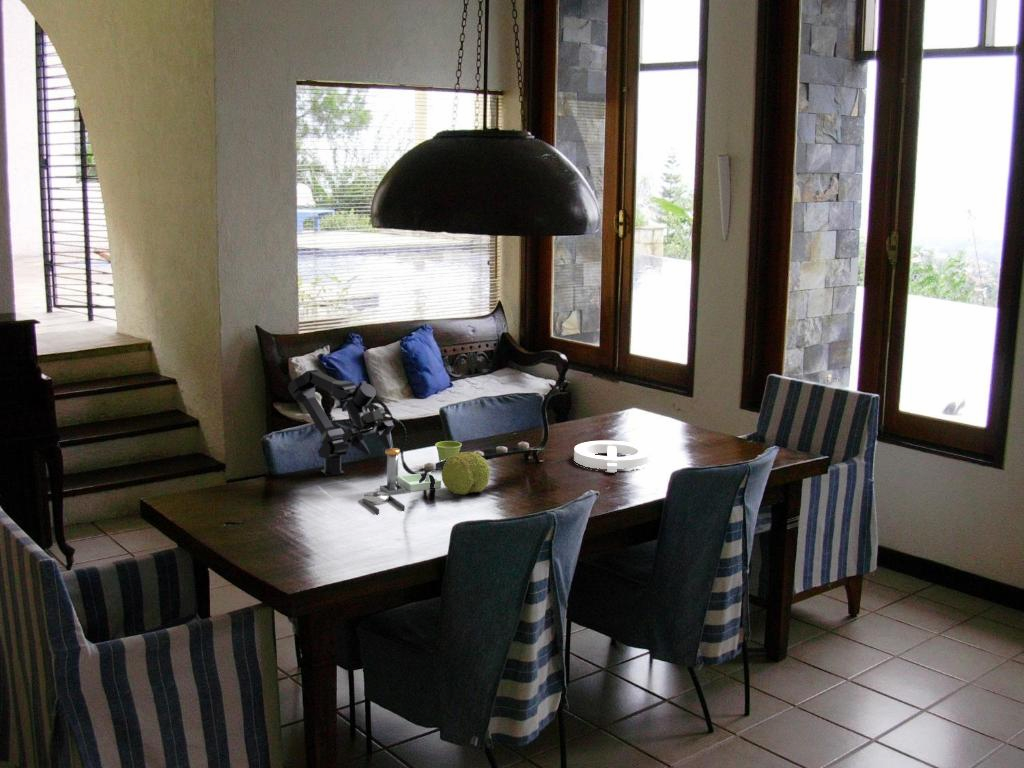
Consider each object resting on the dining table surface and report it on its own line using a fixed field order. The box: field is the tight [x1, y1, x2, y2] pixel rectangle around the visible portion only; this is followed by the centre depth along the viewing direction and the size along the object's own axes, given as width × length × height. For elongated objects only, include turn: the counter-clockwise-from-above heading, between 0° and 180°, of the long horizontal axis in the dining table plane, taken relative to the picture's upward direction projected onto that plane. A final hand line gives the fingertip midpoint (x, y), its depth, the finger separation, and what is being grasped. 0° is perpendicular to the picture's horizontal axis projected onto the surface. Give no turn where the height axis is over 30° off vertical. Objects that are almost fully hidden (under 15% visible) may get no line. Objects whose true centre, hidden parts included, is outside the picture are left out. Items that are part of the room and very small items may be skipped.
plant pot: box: [435, 440, 462, 462], centre depth 404 cm, size 9×9×9 cm
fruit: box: [441, 451, 491, 495], centre depth 374 cm, size 16×14×15 cm
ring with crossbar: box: [573, 440, 651, 473], centre depth 418 cm, size 28×28×5 cm
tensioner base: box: [375, 484, 411, 497], centre depth 373 cm, size 9×9×2 cm
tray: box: [398, 473, 442, 493], centre depth 380 cm, size 11×11×3 cm
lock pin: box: [384, 447, 401, 490], centre depth 372 cm, size 5×5×14 cm
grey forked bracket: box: [362, 491, 406, 516], centre depth 359 cm, size 16×9×3 cm, turn 29°
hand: (379, 452), depth 375 cm, fingers open, 9 cm apart
